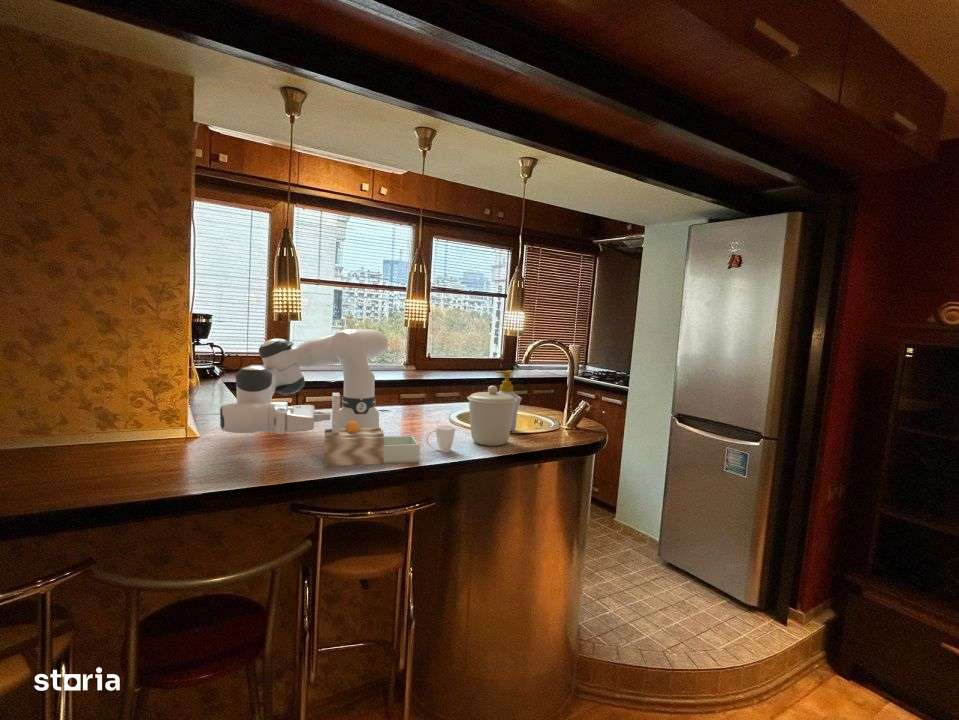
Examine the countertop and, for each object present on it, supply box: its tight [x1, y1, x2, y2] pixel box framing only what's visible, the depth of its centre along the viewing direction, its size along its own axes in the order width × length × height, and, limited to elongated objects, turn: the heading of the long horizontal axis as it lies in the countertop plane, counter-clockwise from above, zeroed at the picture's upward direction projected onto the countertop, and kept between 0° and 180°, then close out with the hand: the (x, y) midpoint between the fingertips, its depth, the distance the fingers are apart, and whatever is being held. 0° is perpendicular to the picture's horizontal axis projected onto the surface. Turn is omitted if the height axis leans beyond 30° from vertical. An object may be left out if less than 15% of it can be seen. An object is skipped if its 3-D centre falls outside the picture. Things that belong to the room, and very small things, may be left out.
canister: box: [466, 385, 517, 447], centre depth 179 cm, size 18×18×21 cm
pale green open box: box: [382, 435, 420, 465], centre depth 155 cm, size 11×11×6 cm
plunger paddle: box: [331, 392, 341, 434], centre depth 148 cm, size 2×6×12 cm, turn 18°
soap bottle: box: [496, 369, 523, 432], centre depth 200 cm, size 13×13×25 cm
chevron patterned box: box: [323, 427, 385, 467], centre depth 151 cm, size 17×11×9 cm
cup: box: [426, 424, 457, 453], centre depth 166 cm, size 7×10×8 cm
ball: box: [346, 421, 359, 434], centre depth 150 cm, size 4×4×4 cm
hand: (330, 416), depth 148 cm, fingers closed
